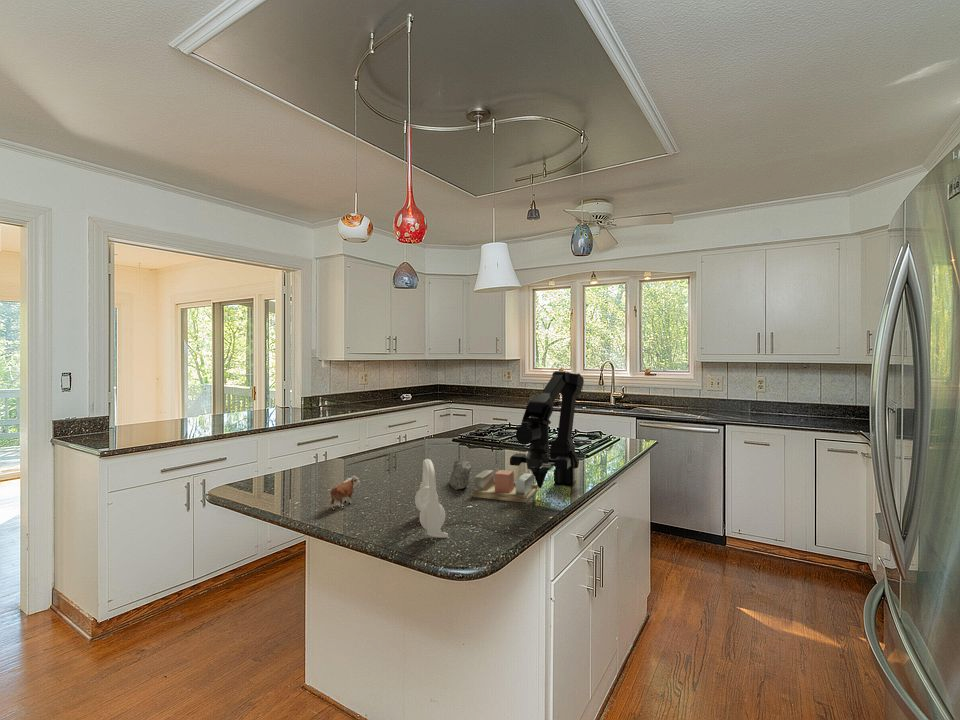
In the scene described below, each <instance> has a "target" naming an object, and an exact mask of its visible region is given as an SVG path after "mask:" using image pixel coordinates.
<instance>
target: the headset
mask: <svg viewBox="0 0 960 720" xmlns="http://www.w3.org/2000/svg"><path fill="white" fill-rule="evenodd" d="M422 461H423V462H422V475H421V476H422V479H421V483H420V484H419V489H418V490H417V491H416V492H415V497H414V503H415V507H416V509H417V510H419V511H420V513H419V522H420V523H419V524H421V526H422V528H424V529H425V530H426V533H427V536H429V537H434V538H442V539H444V538H448V537H449V534H448V533H447V532H443V531H442V529H441V527H442V526H443V525H444V524H445V523H444V522H445V520H446V510H445V508H444V506H443V505H442V504H441V503H440V502H439V496H438V493H437V481H436V480H437V479H436V473H435V472H436V471H435V466H434V464H433V461H432V460H431V459H429V458H426V459H423V460H422Z"/></svg>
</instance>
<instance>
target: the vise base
mask: <svg viewBox="0 0 960 720" xmlns="http://www.w3.org/2000/svg"><path fill="white" fill-rule="evenodd" d="M538 490H539V488H538V485H537V483H533V489H532V490H531V491H530V492H529V493H528V494H527V495H519V494H516V487H515V482H514V489H513V490H512V491H511V492H510V493H503V492H495V472H494V470H493V469H485V470H483V471H481V472H480V473H478V474H476V475H475V476H474V489H473V490H472V491H471V495H472V498H480V499H488V500H496V501H497V500H498V501H508V502H517V503H527V502H528V501H529V500H530V499H531V498H532V497H533V495H535V494H536V493H537V492H538Z"/></svg>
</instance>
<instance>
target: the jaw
mask: <svg viewBox="0 0 960 720" xmlns="http://www.w3.org/2000/svg"><path fill="white" fill-rule="evenodd" d="M514 481H515V487H516V494H519V495H527V494H528V493H529V492H530V491H531V490H532V489H533V484H534V474H533V473H528V472H527V473H526V472H524V473H523V474H522V475H520V476H519V477H518V478H516V480H514Z"/></svg>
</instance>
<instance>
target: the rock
mask: <svg viewBox="0 0 960 720" xmlns="http://www.w3.org/2000/svg"><path fill="white" fill-rule="evenodd" d="M471 470H472V465H471V461H470V460H459V459H457V460H456V461H455V462H454V464H453V466H452V472H451V474H450V479H449V485H450V486H451V487H452V489H454V490H455V491H457V490H462V489H464V488H467V487H468V484H469V478H470V472H471Z"/></svg>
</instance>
